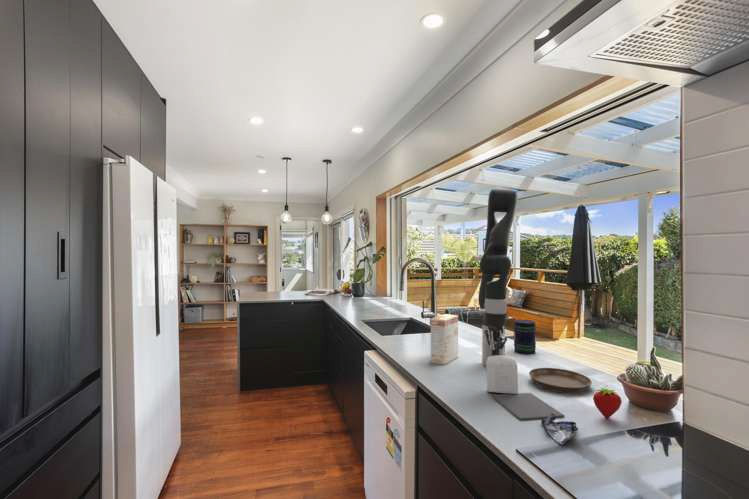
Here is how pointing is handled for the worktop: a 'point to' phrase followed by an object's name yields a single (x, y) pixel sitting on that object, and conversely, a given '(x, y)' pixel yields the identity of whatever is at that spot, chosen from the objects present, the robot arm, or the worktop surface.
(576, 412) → the worktop surface
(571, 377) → the plant saucer
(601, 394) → the strawberry
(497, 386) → the photo printer
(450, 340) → the coffeecake box
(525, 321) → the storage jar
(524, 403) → the mat
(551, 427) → the snack package
